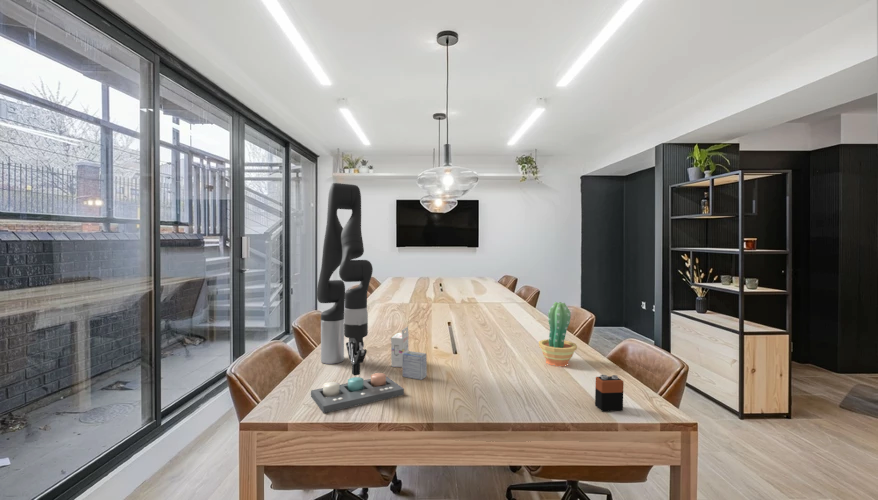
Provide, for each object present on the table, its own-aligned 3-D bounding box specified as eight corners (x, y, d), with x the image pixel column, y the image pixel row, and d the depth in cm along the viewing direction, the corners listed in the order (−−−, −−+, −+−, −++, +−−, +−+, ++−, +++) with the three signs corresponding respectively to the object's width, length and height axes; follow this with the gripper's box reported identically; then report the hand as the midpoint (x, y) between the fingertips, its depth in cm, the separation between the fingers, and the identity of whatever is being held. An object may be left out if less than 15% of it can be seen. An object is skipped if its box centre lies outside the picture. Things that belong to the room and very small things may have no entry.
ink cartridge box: (397, 360, 163) (397, 325, 163) (408, 361, 162) (408, 325, 162) (390, 366, 155) (390, 329, 154) (402, 367, 154) (402, 330, 153)
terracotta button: (368, 383, 133) (368, 374, 132) (382, 380, 135) (382, 372, 135) (374, 388, 128) (374, 379, 128) (388, 385, 131) (388, 376, 131)
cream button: (321, 392, 124) (321, 383, 124) (336, 389, 127) (336, 380, 127) (325, 398, 120) (325, 388, 120) (341, 395, 122) (341, 385, 122)
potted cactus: (584, 364, 159) (586, 303, 158) (560, 371, 150) (561, 307, 150) (554, 355, 172) (555, 298, 171) (529, 361, 163) (530, 301, 162)
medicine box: (426, 376, 144) (427, 353, 144) (421, 380, 140) (421, 356, 140) (408, 373, 147) (408, 350, 147) (402, 377, 143) (402, 353, 143)
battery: (594, 405, 120) (595, 373, 119) (615, 405, 120) (616, 372, 120) (601, 412, 115) (602, 378, 115) (623, 411, 116) (624, 377, 116)
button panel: (311, 396, 125) (311, 389, 125) (385, 381, 139) (385, 375, 139) (323, 413, 113) (323, 405, 113) (403, 394, 127) (404, 388, 127)
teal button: (345, 388, 128) (345, 378, 128) (360, 385, 131) (360, 376, 131) (350, 393, 124) (350, 383, 124) (365, 390, 127) (365, 380, 127)
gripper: (338, 319, 131) (338, 370, 131) (351, 326, 119) (351, 382, 120) (359, 316, 135) (359, 367, 135) (374, 323, 123) (374, 378, 124)
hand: (356, 374), depth 127 cm, fingers closed
